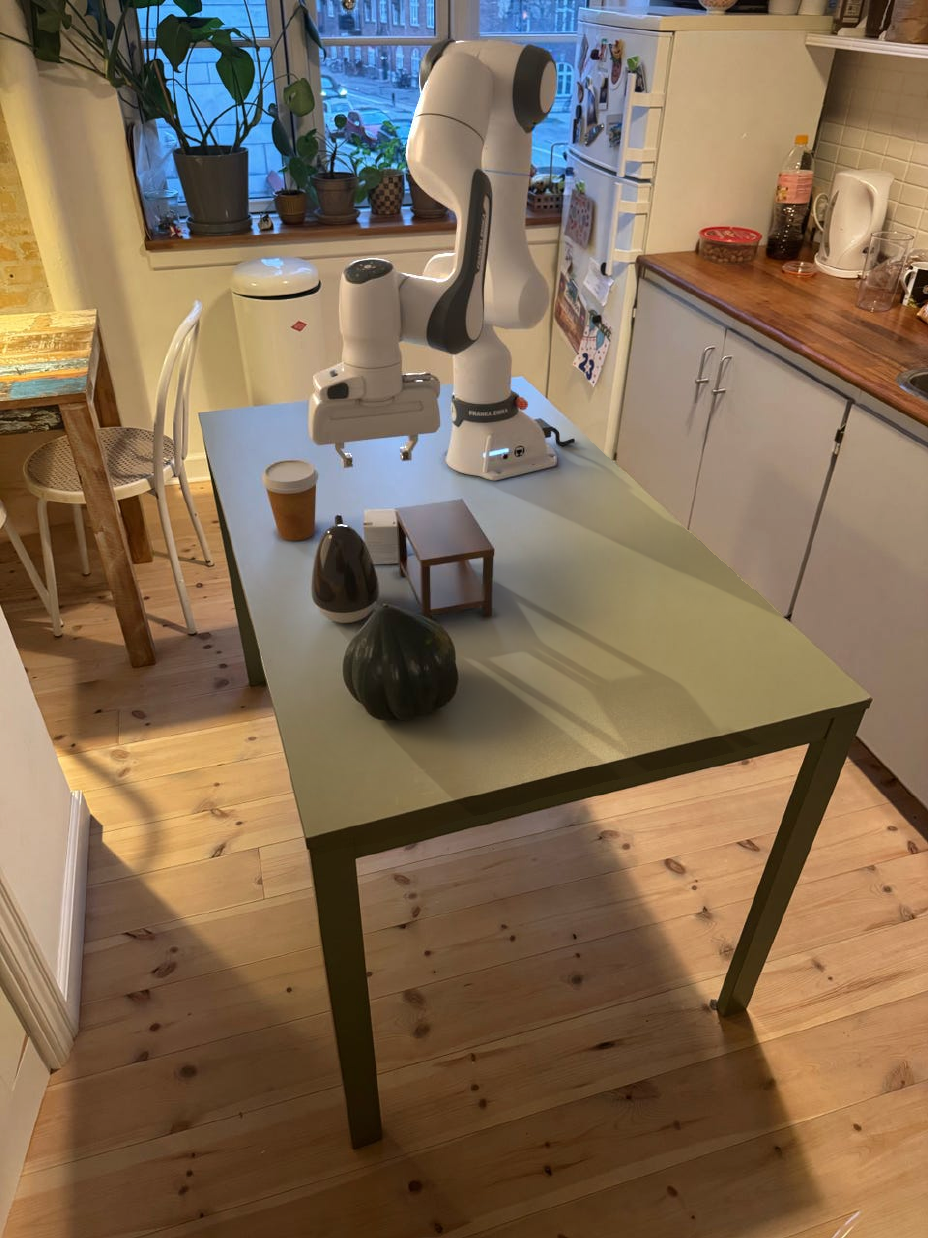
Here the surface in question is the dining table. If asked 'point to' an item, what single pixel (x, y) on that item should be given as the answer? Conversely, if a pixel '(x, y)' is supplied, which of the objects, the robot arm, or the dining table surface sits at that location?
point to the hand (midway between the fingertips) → (376, 462)
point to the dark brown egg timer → (344, 575)
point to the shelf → (444, 557)
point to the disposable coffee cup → (292, 497)
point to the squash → (400, 664)
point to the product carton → (381, 535)
